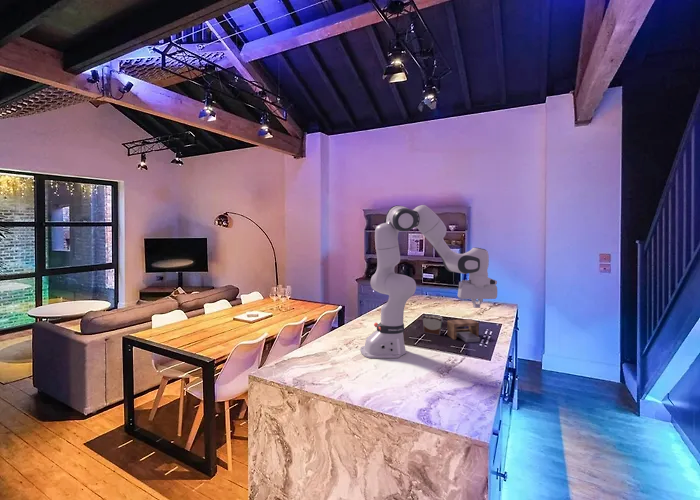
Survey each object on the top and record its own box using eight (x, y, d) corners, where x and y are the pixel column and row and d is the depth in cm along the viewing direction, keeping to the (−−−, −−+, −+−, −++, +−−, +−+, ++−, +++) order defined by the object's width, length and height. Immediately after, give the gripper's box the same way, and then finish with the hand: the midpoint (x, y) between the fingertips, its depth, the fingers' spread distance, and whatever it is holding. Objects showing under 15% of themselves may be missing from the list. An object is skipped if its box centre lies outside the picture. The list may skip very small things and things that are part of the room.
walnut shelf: (453, 339, 199) (454, 324, 198) (446, 335, 207) (447, 320, 206) (478, 337, 202) (479, 322, 201) (470, 333, 210) (471, 319, 209)
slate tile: (466, 343, 194) (466, 338, 194) (455, 336, 206) (455, 332, 206) (480, 342, 196) (480, 337, 196) (468, 335, 208) (468, 331, 207)
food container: (445, 332, 211) (445, 316, 210) (442, 335, 206) (442, 318, 205) (425, 329, 217) (425, 313, 217) (421, 332, 212) (421, 315, 211)
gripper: (462, 280, 176) (460, 309, 177) (499, 281, 180) (498, 308, 181) (456, 279, 182) (454, 306, 183) (492, 279, 186) (490, 306, 187)
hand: (476, 307), depth 182 cm, fingers closed
